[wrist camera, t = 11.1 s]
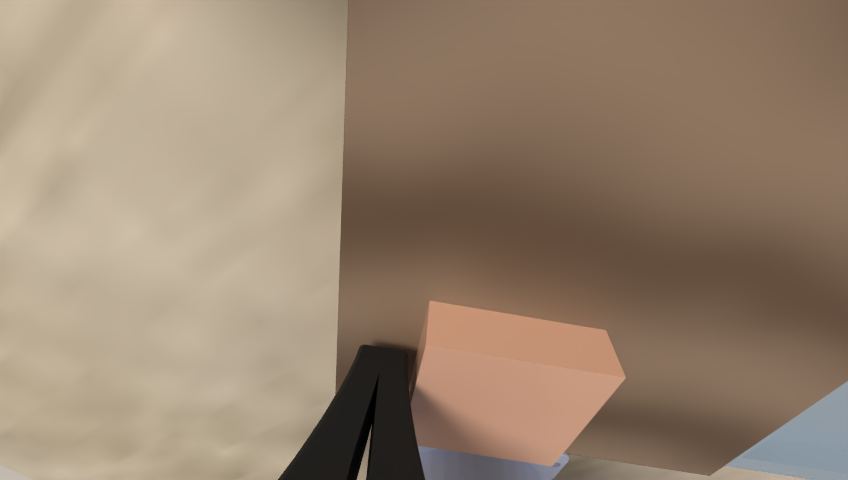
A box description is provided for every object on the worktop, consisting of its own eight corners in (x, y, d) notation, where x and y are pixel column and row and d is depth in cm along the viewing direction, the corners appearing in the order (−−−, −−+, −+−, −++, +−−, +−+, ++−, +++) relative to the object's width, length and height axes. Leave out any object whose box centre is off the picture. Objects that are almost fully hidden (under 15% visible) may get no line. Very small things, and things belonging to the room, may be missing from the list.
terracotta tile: (543, 421, 13) (552, 466, 12) (405, 399, 13) (400, 443, 12) (606, 329, 10) (626, 377, 9) (429, 300, 10) (426, 344, 9)
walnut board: (684, 425, 16) (709, 475, 15) (347, 372, 16) (334, 417, 14) (1348, -154, 6) (1700, -206, 4) (394, -376, 5) (366, -535, 4)
